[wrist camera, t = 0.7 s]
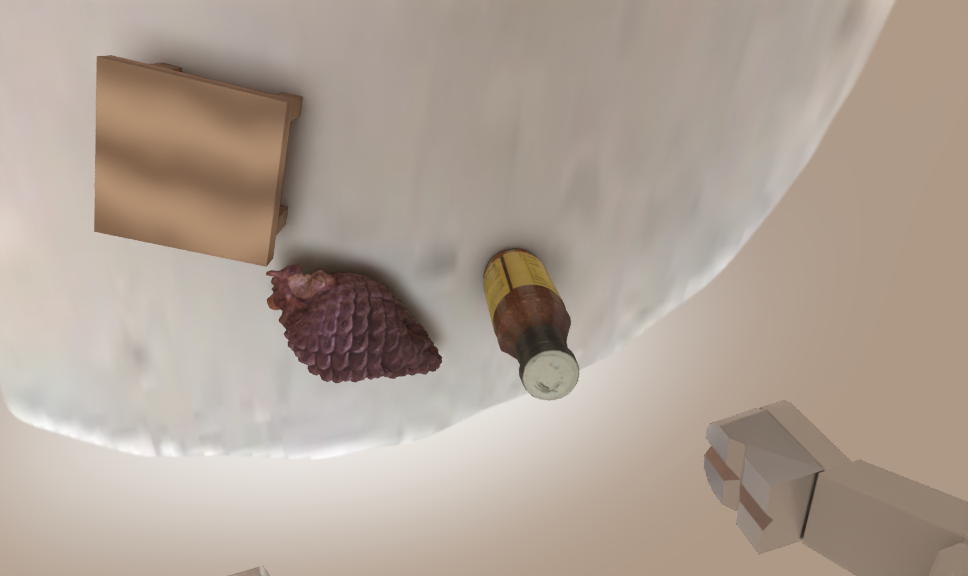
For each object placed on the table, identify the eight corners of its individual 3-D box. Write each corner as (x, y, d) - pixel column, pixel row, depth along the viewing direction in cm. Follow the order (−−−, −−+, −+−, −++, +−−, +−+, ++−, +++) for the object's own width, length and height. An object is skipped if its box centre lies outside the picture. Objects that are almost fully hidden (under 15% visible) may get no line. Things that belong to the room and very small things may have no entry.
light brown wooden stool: (153, 52, 51) (96, 56, 43) (312, 90, 53) (287, 102, 45) (146, 201, 56) (94, 231, 48) (292, 232, 58) (266, 266, 50)
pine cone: (462, 306, 62) (464, 355, 53) (415, 381, 65) (410, 440, 56) (295, 222, 58) (267, 259, 48) (254, 307, 61) (219, 358, 51)
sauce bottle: (499, 314, 62) (521, 433, 44) (471, 262, 60) (481, 365, 42) (558, 286, 61) (605, 395, 43) (532, 232, 59) (570, 324, 41)
